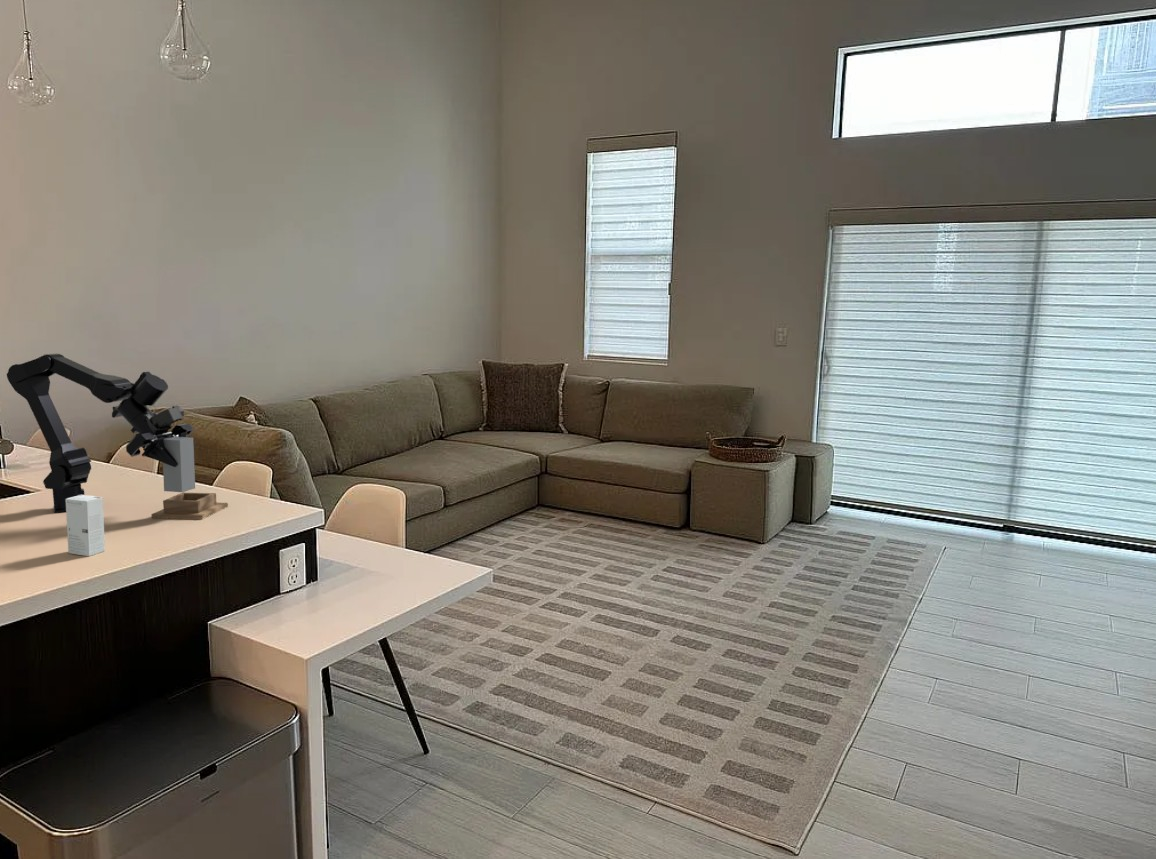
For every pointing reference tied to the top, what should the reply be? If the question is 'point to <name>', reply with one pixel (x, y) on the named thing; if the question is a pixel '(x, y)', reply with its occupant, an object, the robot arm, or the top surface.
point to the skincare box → (85, 525)
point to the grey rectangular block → (179, 465)
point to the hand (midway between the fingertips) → (183, 463)
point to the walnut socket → (190, 506)
